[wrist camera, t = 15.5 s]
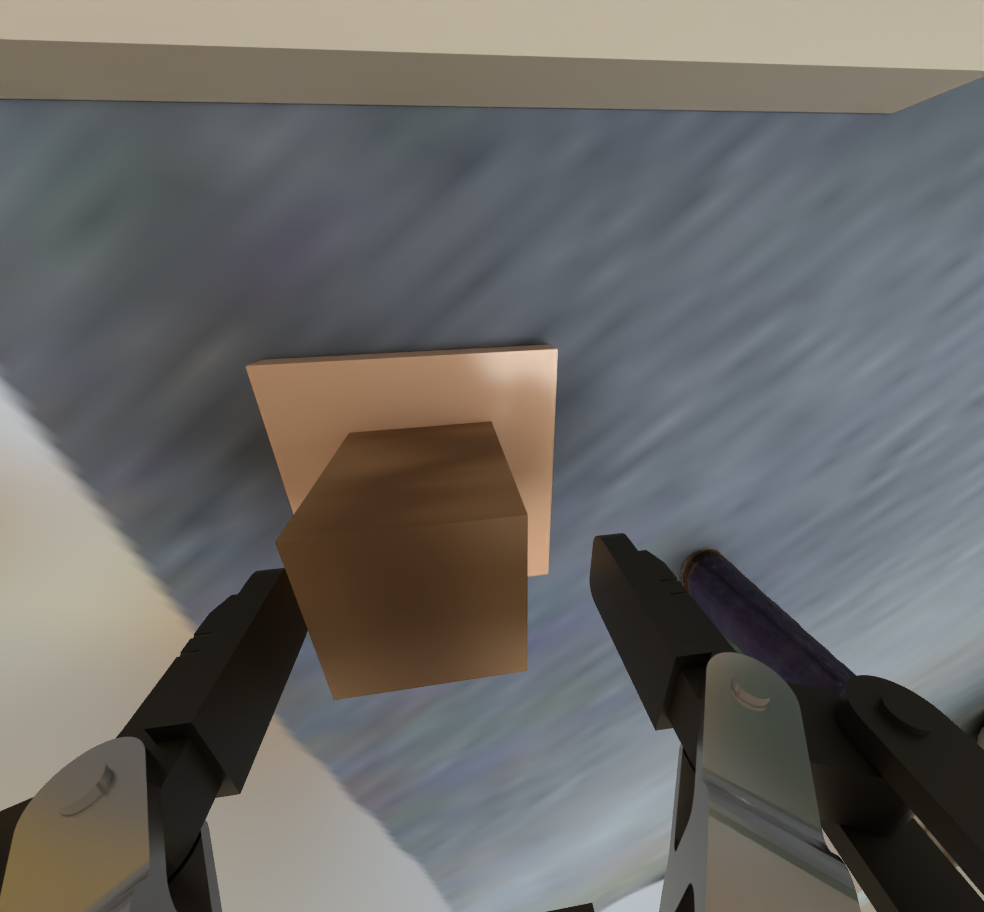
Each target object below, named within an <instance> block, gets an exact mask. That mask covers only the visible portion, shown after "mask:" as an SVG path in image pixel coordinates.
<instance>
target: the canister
mask: <svg viewBox="0 0 984 912" xmlns="http://www.w3.org/2000/svg"><path fill="white" fill-rule="evenodd" d="M977 744H978V745H979V746H980V747H981V748H982V749H984V727H983V728H982V729H981V731H980V733H979V735H978V739H977Z"/></svg>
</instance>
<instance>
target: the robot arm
mask: <svg viewBox="0 0 984 912" xmlns="http://www.w3.org/2000/svg"><path fill="white" fill-rule="evenodd" d="M590 589H591V593H592V597H593V600H594V602H595V604H596V607H597V609H598V611H599V613H600V615H601V617H602V619H603V621H604V623H605V625H606V628H607V630H608V632H609V634H610V636H611V638H612V640H613V642H614V644H615V646H616V648H617V651H618V653H619V655H620V657H621V659H622V661H623V663H624V665H625V667H626V669H627V672H628V674H629V676H630V678H631V680H632V682H633V684H634V686H635V688H636V690H637V693H638V695H639V697H640V699H641V701H642V703H643V705H644V707H645V709H646V711H647V714H648V716H649V718H650V720H651V722H652V724H653V726H654V728H655V730H662V729H669V728H673V729H674V730H675V732H676V734H677V736H678V738H679V740H680V742H681V745H680V749H679V757H678V768H677V778H676V788H675V799H674V809H673V819H672V830H671V840H670V850H669V858H668V864H667V870H666V875H665V879H664V885H663V890H662V896H661V904H660V911H659V912H861V911H860V906H859V902H858V898H857V894H856V890H855V887H854V884H853V881H852V878H851V876H850V873H849V871H848V869H847V867H848V868H849V870H850V871H851V873H852V875H853V876H854V878H855V879H856V881H857V882H858V884H859V885H860V887H861V888H862V890H863V891H864V893H865V894H866V896H867V897H868V899H869V900H870V902H871V904H872V905H873V906H874V908H875V910H876V911H877V912H984V901H983V900H982V899H981V897H980V896H979V895H978V894H977V893H976V891H975V890H974V889H973V888H972V887H971V885H970V884H969V883H968V882H967V881H966V880H965V878H964V877H963V876H962V875H961V874H960V872H959V871H958V870H957V869H956V868H955V867H954V865H953V864H952V863H951V862H950V861H949V859H948V858H947V857H946V856H945V855H944V853H943V852H942V851H941V850H940V849H939V848H938V846H937V845H936V844H935V843H934V842H933V840H932V839H931V838H930V837H929V836H928V834H927V833H926V832H925V831H924V830H923V829H922V827H921V826H920V825H919V824H918V823H917V821H916V820H915V819H914V818H913V817H914V816H915V815H916V816H917V817H918V819H919V820H920V821H921V822H922V823H923V824H924V826H925V827H926V828H927V829H928V830H929V832H930V833H931V834H932V835H933V836H934V837H935V839H936V840H937V841H938V842H939V843H940V844H941V846H942V847H943V848H944V849H945V850H946V852H947V853H948V854H949V855H950V856H951V857H952V859H953V860H954V861H955V862H956V863H957V864H958V866H959V867H960V868H961V869H962V870H963V871H964V873H965V874H966V875H967V876H968V877H969V878H970V880H971V881H972V882H973V883H974V884H975V886H976V887H977V888H978V889H979V890H980V891H981V892H982V894H983V895H984V749H982V748H981V747H980V746H979V745H978V744H977V743H976V742H975V741H973V740H972V739H971V738H970V737H969V736H968V735H967V734H966V733H964V732H963V731H962V730H961V729H960V728H959V727H958V726H957V725H955V724H954V723H953V722H952V721H951V720H950V719H949V718H948V717H947V716H945V715H944V714H943V713H942V712H941V711H940V710H938V709H937V708H936V707H935V706H933V705H932V704H931V703H929V702H928V701H927V700H925V699H924V698H922V697H921V696H919V695H917V694H916V693H914V692H912V691H911V690H909V689H907V688H905V687H903V686H901V685H899V684H896V683H894V682H891V681H889V680H886V679H883V678H879V677H875V676H869V675H859V676H855V677H852V678H850V679H849V680H848V682H847V683H846V685H845V686H844V688H843V690H842V691H841V692H837V691H832V690H826V689H821V688H815V687H810V686H804V685H799V684H793V683H789V682H785V681H784V680H783V679H782V678H781V677H780V676H779V675H778V674H777V673H776V672H775V671H773V670H772V669H771V668H769V667H768V666H766V665H765V664H763V663H761V662H760V661H758V660H756V659H754V658H751V657H749V656H746V655H743V654H739V653H737V652H736V651H735V650H734V648H733V647H732V646H731V645H730V644H729V642H728V641H727V640H726V639H725V637H724V636H723V635H722V634H721V632H720V631H719V630H718V629H717V627H716V626H715V625H714V624H713V623H712V621H711V620H710V619H709V618H708V616H707V615H706V614H705V613H704V611H703V610H702V609H701V608H700V606H699V605H698V604H697V603H696V601H695V600H694V599H693V598H692V596H691V595H688V593H687V590H686V589H685V588H684V587H683V585H682V584H681V583H680V582H679V581H677V578H676V577H675V575H674V574H673V573H672V572H671V570H670V569H669V568H668V567H667V566H666V564H665V563H664V562H663V561H661V560H660V559H658V558H657V557H655V556H654V555H652V554H651V553H650V552H648V551H647V550H643V551H638V550H637V549H636V548H635V546H634V545H633V544H632V542H631V541H630V540H629V538H628V537H627V536H626V535H625V534H623V533H619V534H610V535H600V536H596V537H595V538H594V541H593V550H592V559H591V569H590ZM307 630H308V629H307V626H306V624H305V621H304V618H303V615H302V613H301V610H300V607H299V605H298V602H297V599H296V597H295V594H294V591H293V589H292V586H291V583H290V581H289V578H288V575H287V572H286V570H285V568H280V569H271V570H261V571H256V572H254V573H253V574H252V575H251V576H250V578H249V579H248V581H247V582H246V584H245V585H244V586H243V588H242V589H241V591H240V592H239V594H237V595H231V596H230V597H229V598H227V599H226V600H225V601H224V602H223V603H221V604H220V605H219V606H218V607H217V608H215V609H214V610H213V611H212V612H211V613H209V615H208V616H207V617H206V619H205V620H204V621H203V623H202V624H201V625H200V627H199V628H198V629H197V631H196V632H195V633H194V638H192V639H190V640H189V642H188V643H187V644H186V646H185V647H184V648H183V650H182V651H181V655H180V657H177V658H176V659H175V660H174V662H173V663H172V664H171V666H170V667H169V668H168V670H167V671H166V672H165V674H164V675H163V676H162V678H161V679H160V680H159V682H158V683H157V684H156V686H155V687H154V688H153V690H152V691H151V693H150V694H149V695H148V696H147V698H146V699H145V700H144V702H143V703H142V704H141V706H140V707H139V709H138V710H137V711H136V713H135V714H134V715H133V717H132V718H131V719H130V721H129V722H128V723H127V725H126V726H125V727H124V729H123V730H122V731H121V732H120V734H119V735H118V736H117V737H116V739H113V740H109V741H107V742H104V743H102V744H100V745H98V746H96V747H94V748H92V749H90V750H88V751H87V752H85V753H83V754H82V755H80V756H79V757H77V758H76V759H75V760H73V761H72V762H70V763H69V764H68V765H66V766H65V767H64V768H63V769H61V770H60V771H59V772H58V773H57V774H56V775H54V776H53V777H52V778H51V779H50V780H49V781H48V782H47V783H46V784H45V785H44V786H43V787H42V788H41V789H40V791H39V792H38V793H37V794H36V795H35V796H34V797H33V798H30V799H28V800H26V801H23V802H21V803H19V804H16V805H14V806H12V807H9V808H7V809H5V810H2V811H0V912H222V908H221V902H220V896H219V889H218V883H217V876H216V870H215V863H214V857H213V851H212V844H211V838H210V832H209V827H208V823H207V822H206V820H205V819H206V817H207V815H208V813H209V810H210V808H211V806H212V804H213V802H214V800H215V798H217V797H224V796H230V795H237V794H240V793H241V791H242V788H243V786H244V783H245V781H246V779H247V776H248V774H249V772H250V769H251V767H252V764H253V762H254V759H255V757H256V755H257V752H258V750H259V747H260V745H261V742H262V740H263V738H264V735H265V733H266V731H267V728H268V726H269V723H270V721H271V719H272V716H273V714H274V711H275V709H276V706H277V704H278V702H279V699H280V697H281V694H282V692H283V690H284V687H285V685H286V682H287V680H288V678H289V675H290V673H291V670H292V668H293V666H294V663H295V661H296V658H297V656H298V654H299V651H300V649H301V646H302V644H303V641H304V639H305V637H306V634H307ZM821 827H822V828H821ZM822 829H823V830H824V832H825V833H826V835H827V836H828V838H829V839H830V841H831V843H832V844H833V846H834V847H835V849H836V850H837V851H838V853H839V855H840V856H841V857H842V859H843V861H844V862H845V863H844V862H843V861H842V859H841V858H840V857H839V856H837V855H835V854H834V853H832V852H830V850H829V849H828V847H827V845H826V843H825V841H824V837H823V833H822ZM845 864H846V865H847V867H846V865H845ZM548 912H594V908H593V904H592V903H588V904H583V905H578V906H573V907H568V908H563V909H558V910H553V911H548Z"/></svg>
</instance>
